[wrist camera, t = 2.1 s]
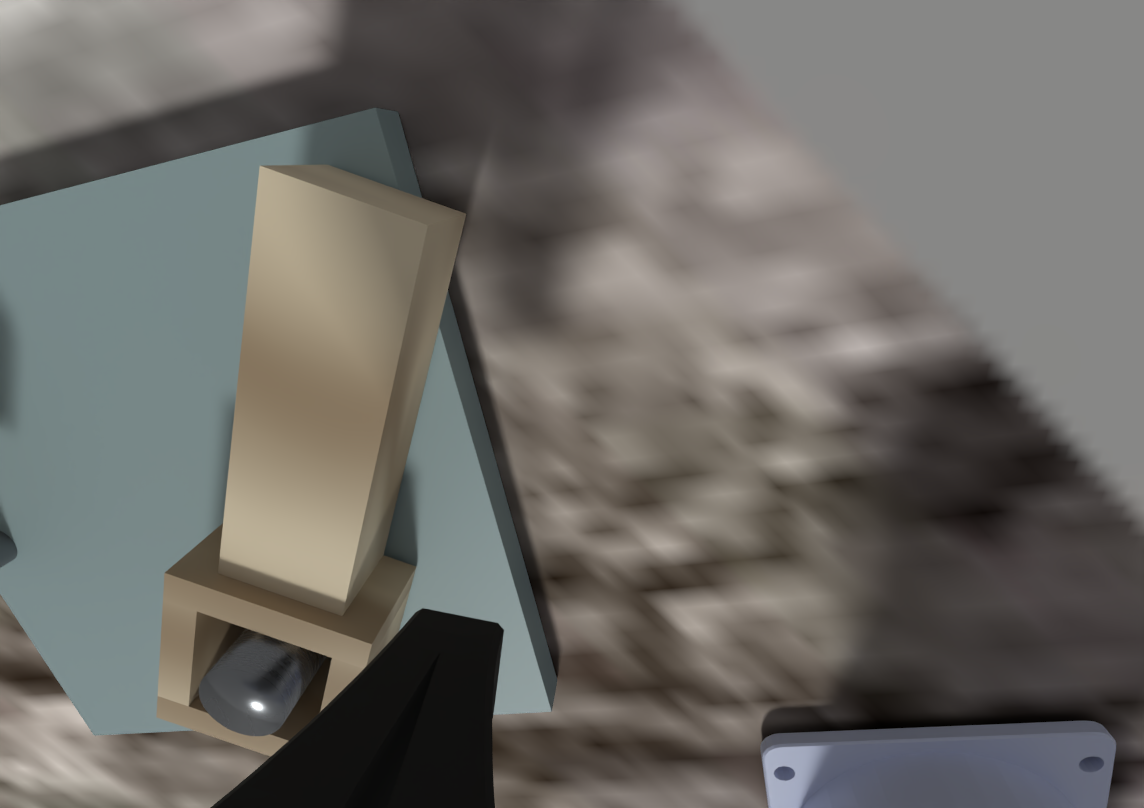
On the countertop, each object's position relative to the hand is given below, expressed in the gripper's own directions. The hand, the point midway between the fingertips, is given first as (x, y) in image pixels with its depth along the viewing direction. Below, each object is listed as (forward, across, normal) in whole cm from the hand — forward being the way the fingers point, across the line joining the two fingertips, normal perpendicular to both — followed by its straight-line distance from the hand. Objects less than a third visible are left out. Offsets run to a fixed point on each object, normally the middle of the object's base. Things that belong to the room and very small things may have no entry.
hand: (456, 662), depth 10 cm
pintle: (+5, +4, +3) cm, 7 cm away
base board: (+5, +7, +1) cm, 9 cm away
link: (+4, +4, -1) cm, 5 cm away
